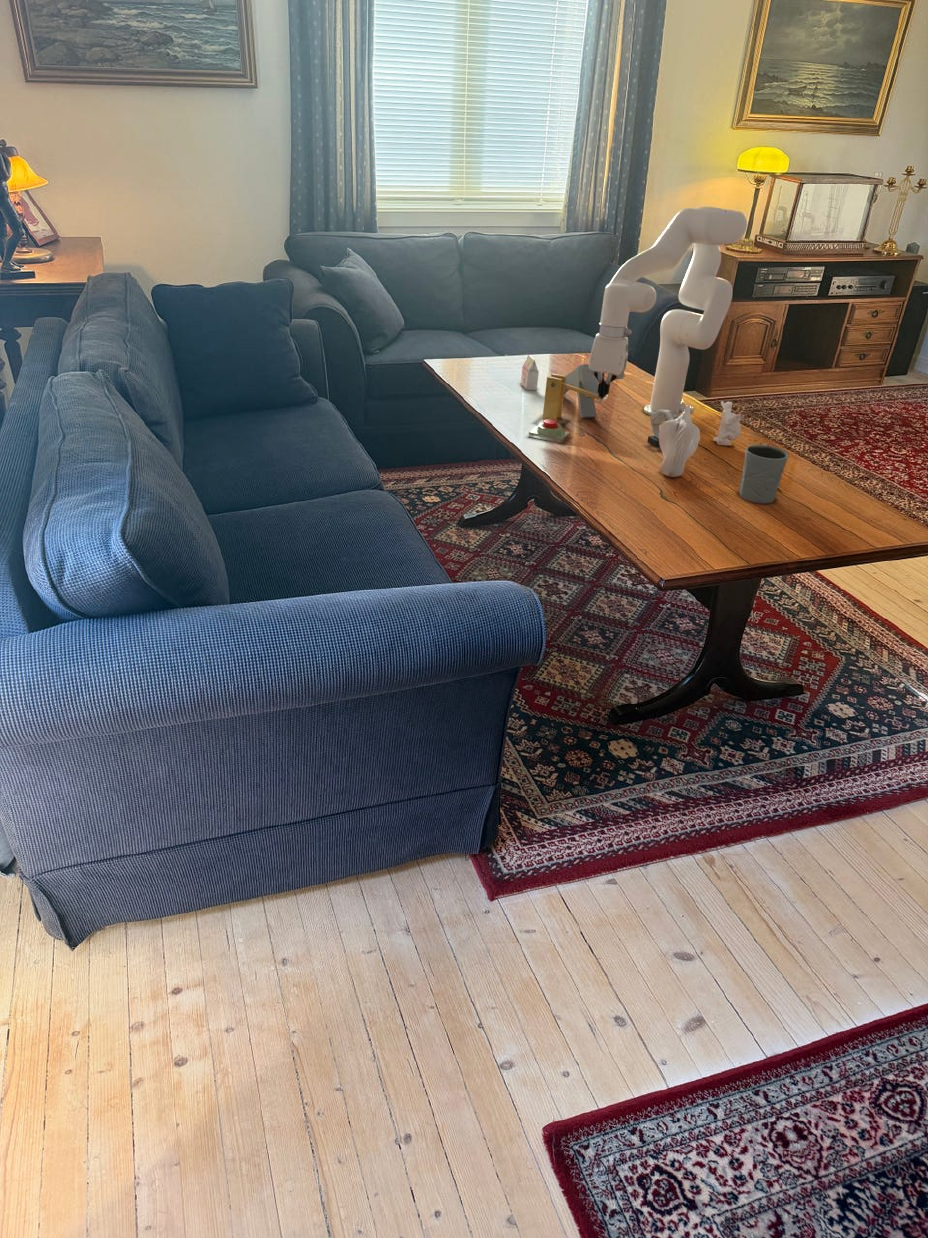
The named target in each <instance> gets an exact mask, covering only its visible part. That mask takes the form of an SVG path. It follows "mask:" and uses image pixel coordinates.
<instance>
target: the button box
mask: <svg viewBox="0 0 928 1238" xmlns="http://www.w3.org/2000/svg"><path fill="white" fill-rule="evenodd" d="M570 433H571V432H570V431H567V430H563V426H562V425H561V424H560V423H557V428H555V429H549V428H545V427H543V422H539V423H538V424H537V425H536V426H535V427H533V428H532V429H531V430H530V431H528V434H530V435H536V436H540V437H545V438H550V439H555V440H559V441H563V440H564V439H565V438H566V437H567V436H568V435H569V434H570ZM528 439H531V440H532V439H533V440H538V441H543V442H549V443H553V444H557V445H562V444H563V443H562V442H559V441H554V440H549V439H543V438H539V437H533V436H528Z"/></svg>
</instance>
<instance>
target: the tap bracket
mask: <svg viewBox="0 0 928 1238" xmlns="http://www.w3.org/2000/svg"><path fill="white" fill-rule="evenodd" d="M553 377H557V378H553ZM559 378H560V379H559ZM562 383H566V376H565V375H563V374H557V373H551V374H550V376H547V377H546V383H545V392H544V402H543V411H542V420H546V419H552V420H556V421H557V422H558V419H561V418H562V414H563V405H564V399H565V395H564V391H565V388H563V387H561V384H562Z"/></svg>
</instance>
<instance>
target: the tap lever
mask: <svg viewBox="0 0 928 1238" xmlns="http://www.w3.org/2000/svg"><path fill="white" fill-rule="evenodd" d="M553 378H557V377H553ZM559 379H560V378H559ZM561 387H563V388H566V389H569V391H573V392H574V393H575V392H576V393H577V392H578V393H581V394H584V395H587V396H590V397H593V398H594V399H596V400H597V402H598V403H599V404H603V403H604V402H605V401H607V400H608V398H609V394H608V395H606V396H605V397H604V398H602V397H599V395H598V394H595V393H592V392H589V391H586V390H583V389H580V388H577V387H574V386H571V385H568V384H565V383H562V384H561Z"/></svg>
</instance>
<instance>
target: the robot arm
mask: <svg viewBox="0 0 928 1238" xmlns="http://www.w3.org/2000/svg"><path fill="white" fill-rule="evenodd" d="M747 226H748V221H747V217H746V215H745V214H744V213H743V212H741V211H739V210H735V209H726V208H720V207H714V206H699V207H696V208H691V207H690V208H689V207H687V208H683V209H681V210H679V211H678V212H677V213H676V215H675V216H674V217H673V218H672V220H671V221H670V222H669V223H668V225H667V226H666V227H665V229H664V230H663V232H662V233H661V234H660V236H659V237H658V238H657V240H656V241H655V243H654V244H653V245H652V246H651V247H649V248H648V249H645V250H643V251H642V252H640V253H638V254H637V255H635V256H633V257H631V258H630V259H628V260H626V262H625V263H624V264H622V265H621V266H620V268H619V269H618V270H617V272H616V273H615V274H614V276H613V277H612V279H611V280H610V282H609V283H608V284H607V285H606V286H605V289H604V293H603V299H602V300H603V301H602V305H601V306H602V308H601V312H600V313H601V314H600V321H599V326H598V327H599V328H598V333H596V334H595V337H594V339H593V342H592V343H593V344H592V347H591V351H590V356H589V361H588V364H589V369H588V373H590V374H592V375H594V376H595V377H596V379H597V380H598V393H599V397H602V398H604V397H605V396H606V395H608V396H609V394H610V387H611V383H612V382H614V381H615V380H623V379H624V378H625V371H626V370H627V363H628V356H629V355H628V354H629V338H628V337H627V336H628V335H629V336H631V334H632V329H630V328H628V323H629V317H630V312H632V313H645V312H648V311H650V310H651V309H652V308H653V307H654V305H655V304H656V302H657V296H658V295H657V291H656V289H655V288H654V287H653V286H652V285H650V284H647V283H644V282H640V281H638V280H640V279H642V278H643V277H646V276H648V275H653V274H657V273H662V272H665V271H669V270H672V269H673V268H675V267H676V266H677V265H678V264H679V262H680V260H681V259H682V258H683V257H684V256H685V254H686V253H687V252H688V250H689V249H690V248H691V246H692V247H693V251H692V256H691V260H690V263H689V265H688V268H687V270H686V273H685V275H684V278H683V280H682V282H681V285H680V288H679V292H678V301H679V303H681V304H682V305H683V306H685V307H688V308H692V309H696V310H700V311H703V313H702V314H701V313H697V312H694V311H690V310H685V309H680V308H679V309H671V310H669V311H667V312H666V313H665V314H664V315H663V317H662V319H661V321H660V328H659V333H660V334H659V336H660V337H659V338H660V341H659V351H658V357H657V363H656V368H655V373H654V378H653V379H654V380H653V385H652V391H651V396H650V401H649V404H646V405H645V406H644V409H643V411H644V413H645V414H646V415H648V416H650V417H651V416H652V414H653V413H655V412H656V411H658V410H661V409H664V410H669V411H671V412H672V413H673V415H674V420H675V419H677V418H678V417H679V416H680V415H681V414H682V411H683V416H684V409H685V410H686V405H687V406H690V414H692V415H693V414H694V412H695V407H693V406H692V405H689V404H685V403H684V401H685V400H684V399H683V395H684V391H685V390H684V389H685V385H686V380H687V375H688V370H689V366H690V351H689V347H690V348H692V349H696V350H702V351H703V350H707V349H709V348H710V347H711V346H713V344H714V343H715V341H716V339H717V338H718V335H719V332H720V330H721V328H722V325H723V323H724V321H725V318H726V316H727V313H728V311H729V309H730V306H731V304H732V300H733V285H732V284H731V282H730V281H728V280H727V279H725V278H722V277H717V275H718V271H719V268H720V266H721V263H722V252H721V247H720V246H725V245H733V244H736V243H738V242H739V241H741V239H742V238H743V237H744V236H745V234H746V232H747V231H746V230H747ZM605 374H607V376H606V379H605Z"/></svg>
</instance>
